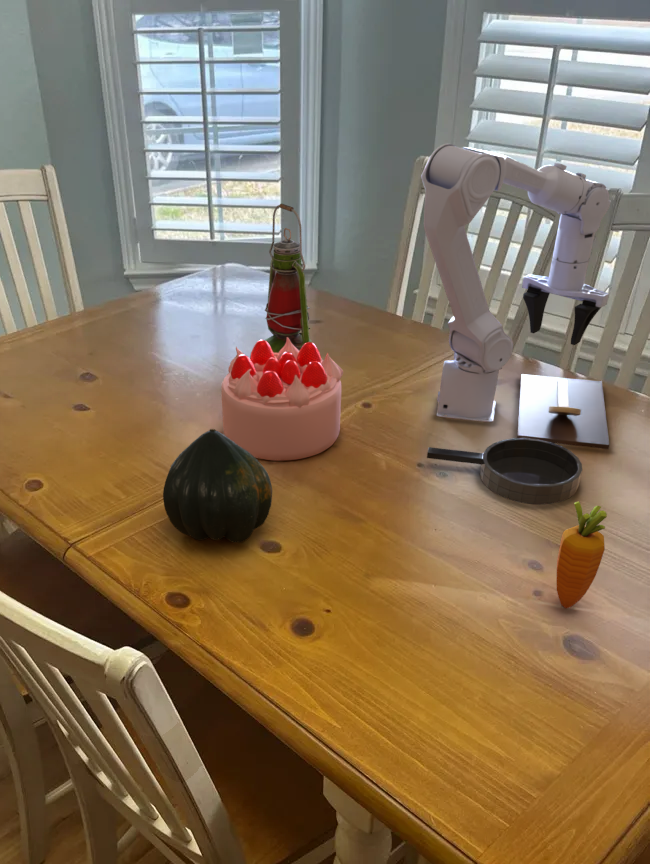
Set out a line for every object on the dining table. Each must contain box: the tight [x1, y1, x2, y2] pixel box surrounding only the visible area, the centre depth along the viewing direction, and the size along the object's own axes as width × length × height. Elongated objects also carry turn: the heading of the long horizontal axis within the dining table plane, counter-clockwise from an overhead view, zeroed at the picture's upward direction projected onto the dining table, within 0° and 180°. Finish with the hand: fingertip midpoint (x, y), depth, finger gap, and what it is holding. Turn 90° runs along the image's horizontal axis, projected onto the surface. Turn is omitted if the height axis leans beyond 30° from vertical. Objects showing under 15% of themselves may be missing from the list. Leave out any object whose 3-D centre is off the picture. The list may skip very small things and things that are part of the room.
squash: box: [162, 428, 273, 543], centre depth 114 cm, size 14×15×15 cm
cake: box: [220, 337, 344, 462], centre depth 135 cm, size 20×20×14 cm
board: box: [516, 373, 610, 450], centre depth 141 cm, size 14×24×1 cm, turn 163°
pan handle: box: [426, 446, 484, 465], centre depth 125 cm, size 8×2×1 cm, turn 73°
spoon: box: [548, 379, 581, 416], centre depth 140 cm, size 15×5×7 cm, turn 164°
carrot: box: [556, 501, 608, 609], centre depth 96 cm, size 5×5×15 cm
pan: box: [479, 437, 583, 505], centre depth 123 cm, size 14×14×4 cm
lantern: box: [264, 203, 314, 353], centre depth 152 cm, size 14×11×30 cm
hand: (554, 337), depth 142 cm, fingers open, 7 cm apart
